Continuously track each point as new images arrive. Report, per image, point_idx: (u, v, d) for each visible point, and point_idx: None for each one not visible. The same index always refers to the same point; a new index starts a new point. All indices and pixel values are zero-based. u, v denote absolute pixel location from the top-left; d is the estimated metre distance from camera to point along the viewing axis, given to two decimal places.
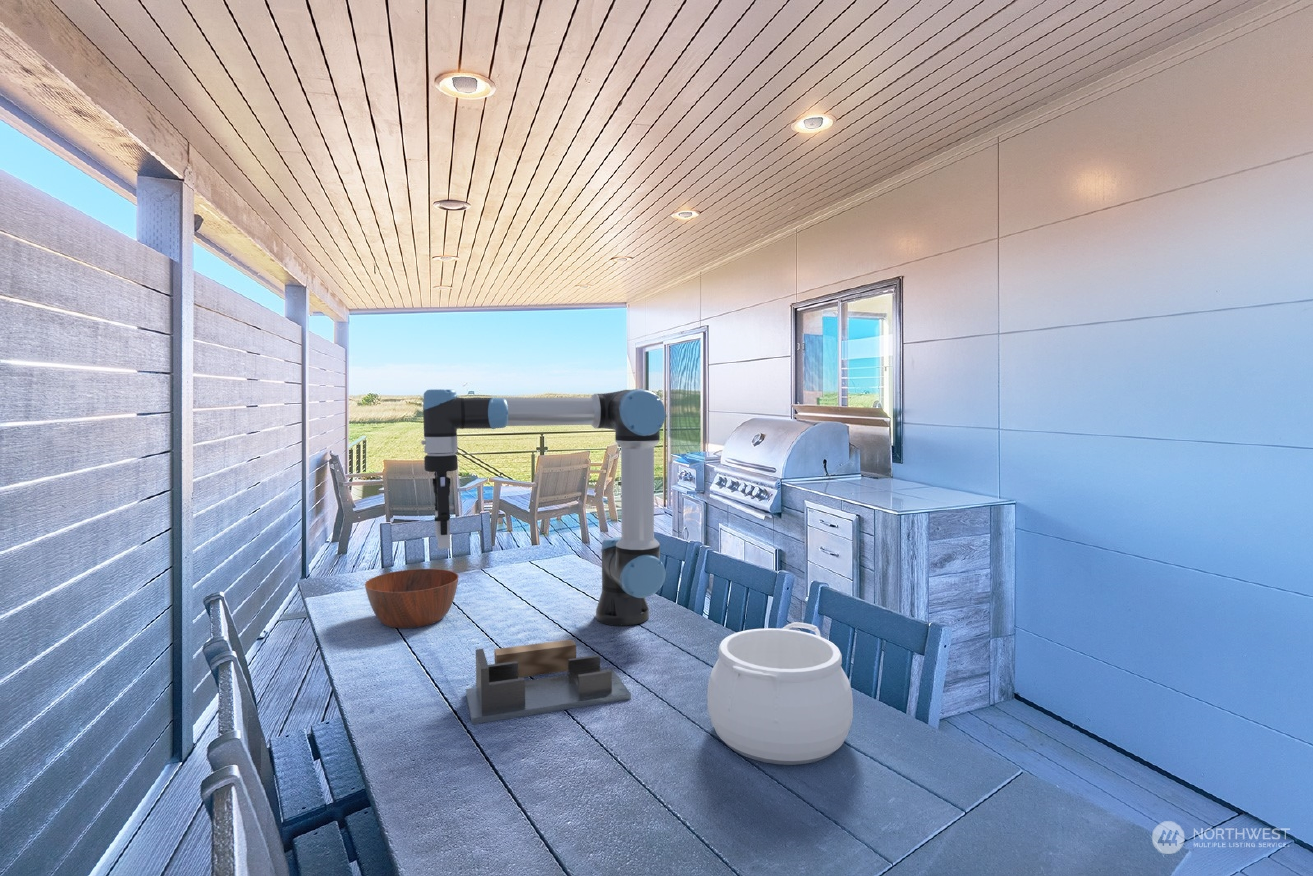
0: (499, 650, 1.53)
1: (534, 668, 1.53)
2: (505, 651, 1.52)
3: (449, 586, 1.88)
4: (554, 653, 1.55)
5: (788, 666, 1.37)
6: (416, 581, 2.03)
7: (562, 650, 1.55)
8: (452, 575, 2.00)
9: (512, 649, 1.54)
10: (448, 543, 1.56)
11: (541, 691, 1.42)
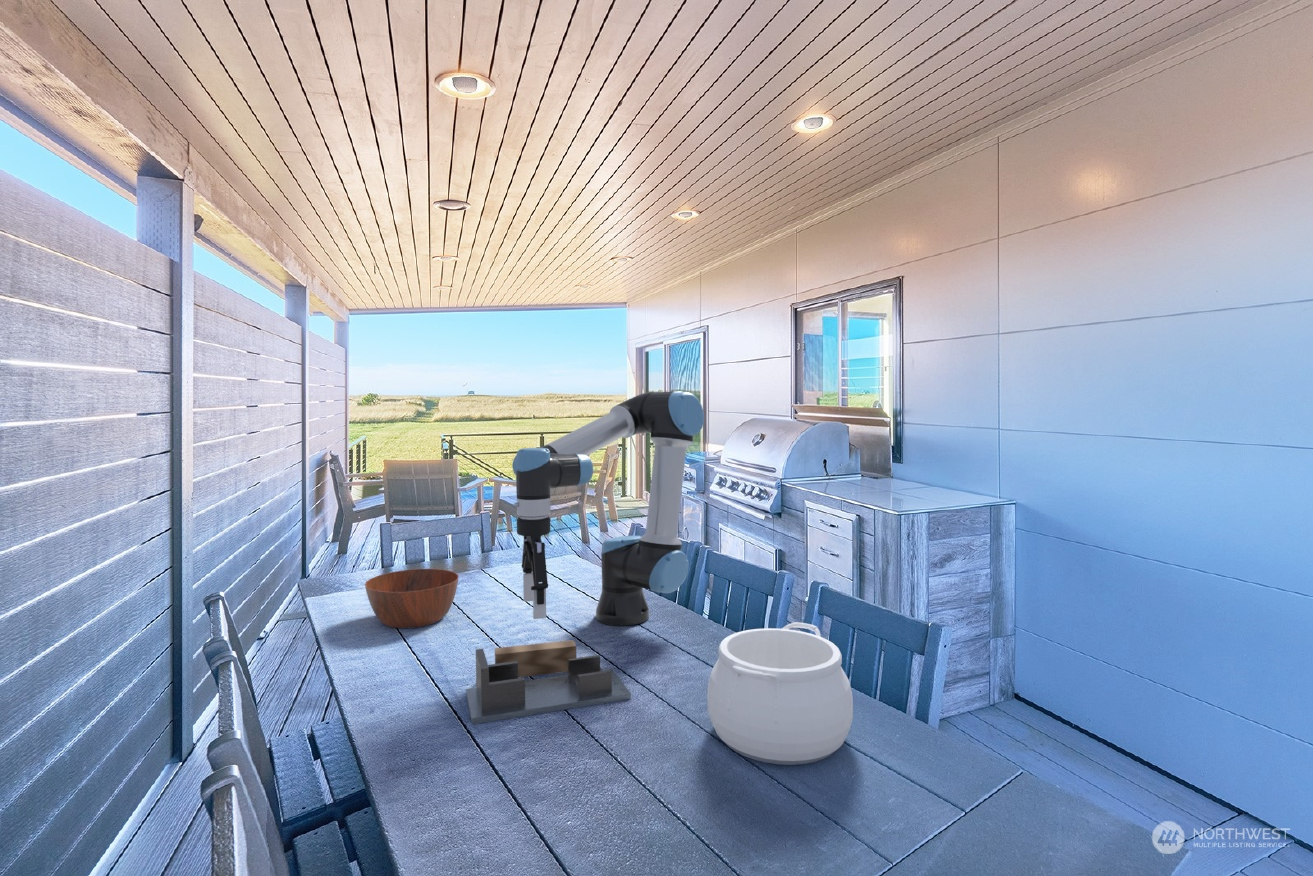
0: (499, 649, 1.54)
1: (533, 668, 1.53)
2: (505, 650, 1.53)
3: (449, 586, 1.88)
4: (553, 654, 1.54)
5: (788, 666, 1.37)
6: (416, 581, 2.03)
7: (562, 650, 1.55)
8: (452, 575, 2.00)
9: (512, 648, 1.54)
10: (544, 612, 1.48)
11: (541, 691, 1.42)
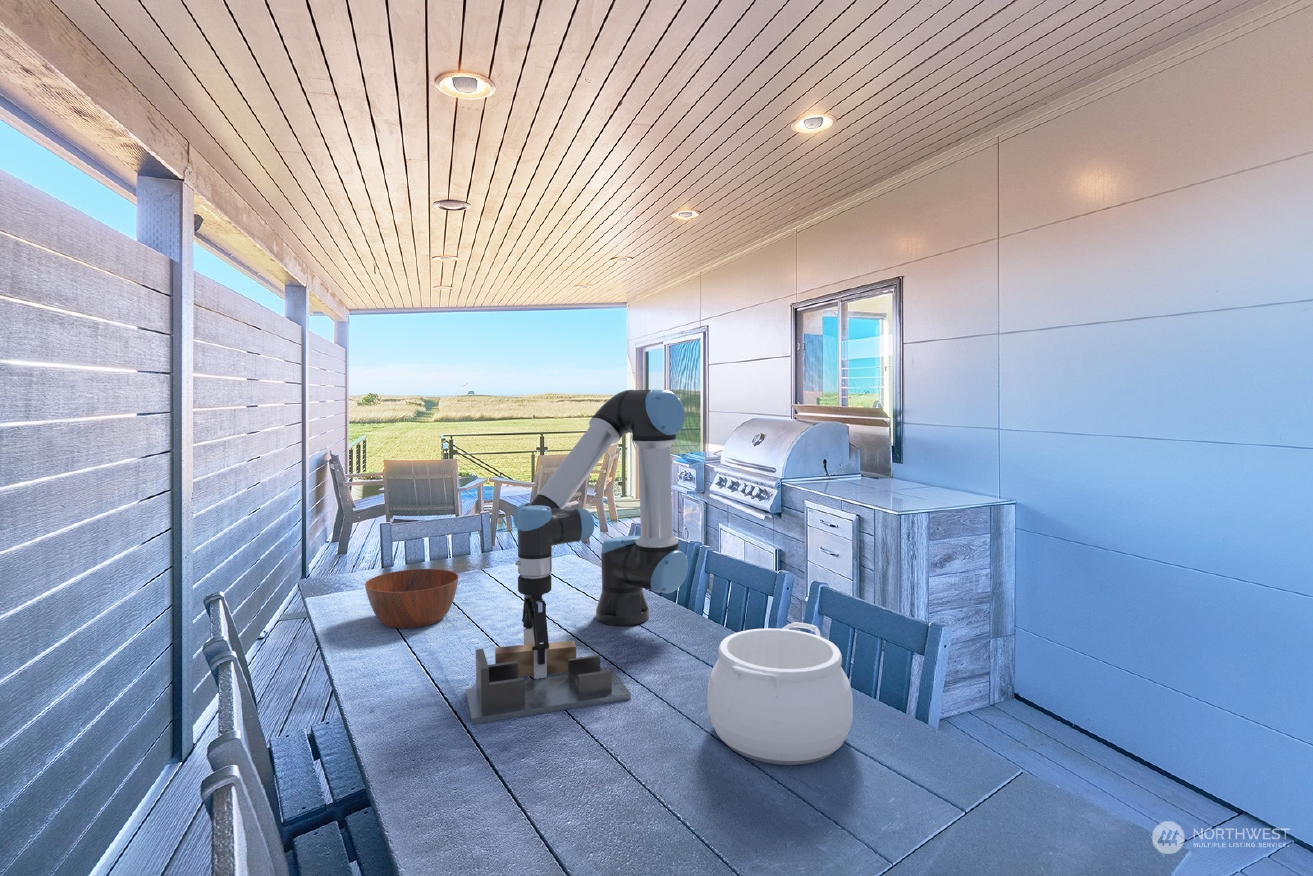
0: (499, 648, 1.54)
1: (533, 668, 1.53)
2: (505, 650, 1.53)
3: (449, 586, 1.88)
4: (553, 654, 1.54)
5: (788, 666, 1.37)
6: (416, 581, 2.03)
7: (561, 651, 1.55)
8: (452, 575, 2.00)
9: (512, 648, 1.54)
10: (545, 672, 1.49)
11: (541, 691, 1.42)
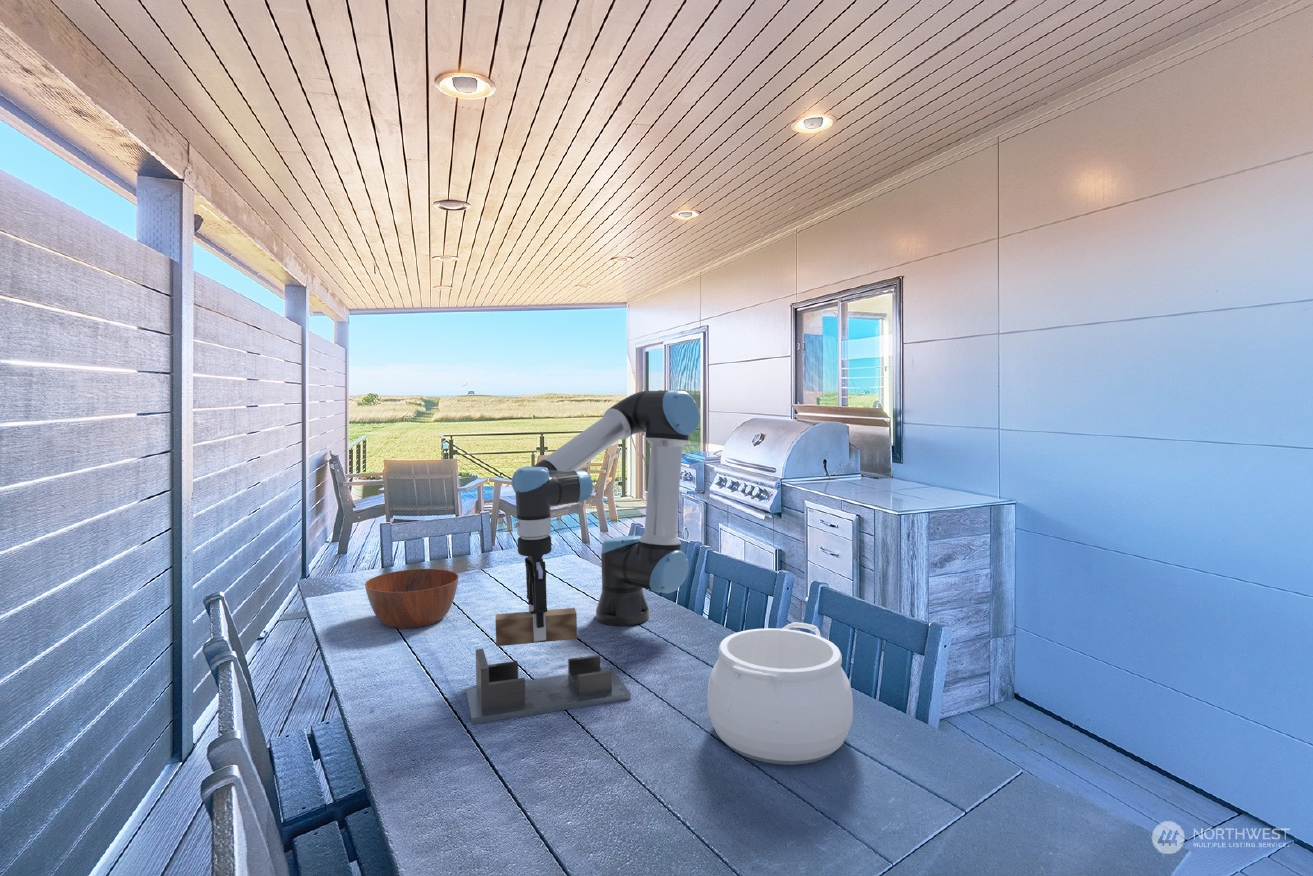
0: (500, 615, 1.54)
1: None
2: (505, 616, 1.53)
3: (449, 586, 1.88)
4: (553, 621, 1.54)
5: (788, 666, 1.37)
6: (416, 581, 2.03)
7: (562, 617, 1.54)
8: (452, 575, 2.00)
9: (512, 615, 1.54)
10: (544, 635, 1.53)
11: (541, 691, 1.42)
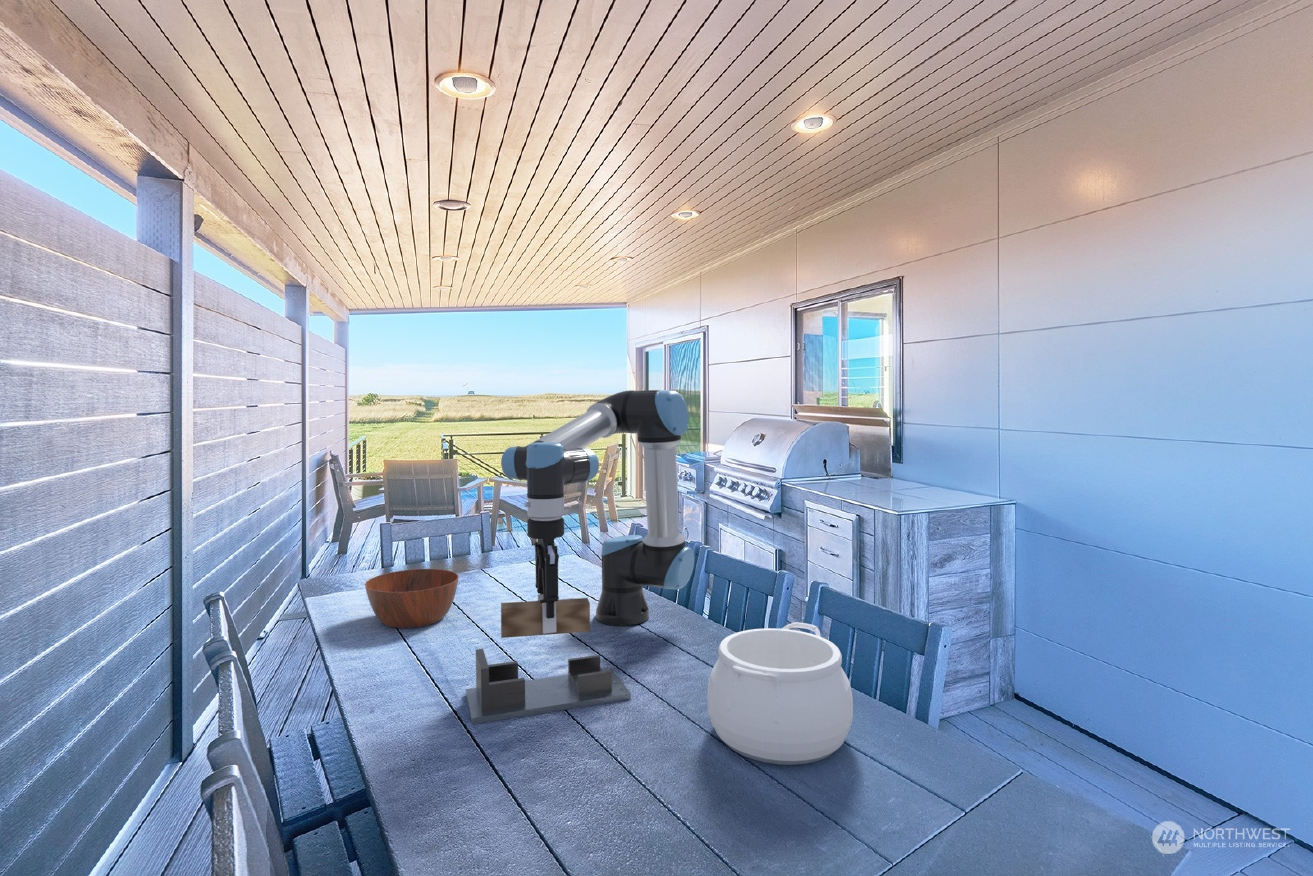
0: (505, 604, 1.40)
1: (542, 626, 1.39)
2: (511, 605, 1.39)
3: (449, 586, 1.88)
4: (564, 611, 1.40)
5: (788, 666, 1.37)
6: (416, 581, 2.03)
7: (574, 607, 1.41)
8: (452, 575, 2.00)
9: (519, 604, 1.40)
10: (554, 627, 1.39)
11: (541, 691, 1.42)
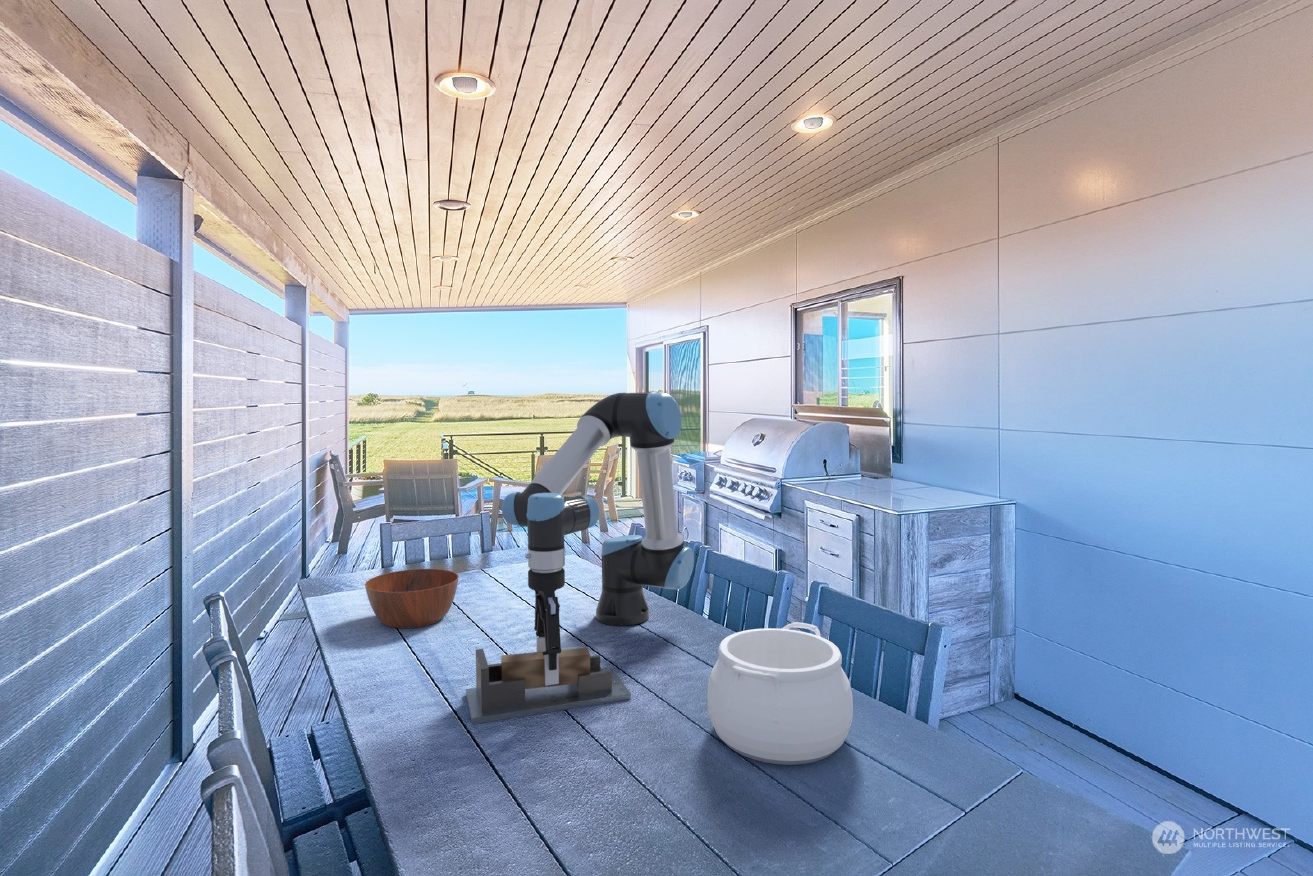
0: (506, 657, 1.41)
1: (543, 678, 1.40)
2: (512, 658, 1.40)
3: (449, 586, 1.88)
4: (565, 663, 1.41)
5: (788, 666, 1.37)
6: (416, 581, 2.03)
7: (574, 659, 1.41)
8: (452, 575, 2.00)
9: (520, 656, 1.41)
10: (557, 678, 1.38)
11: (541, 691, 1.42)
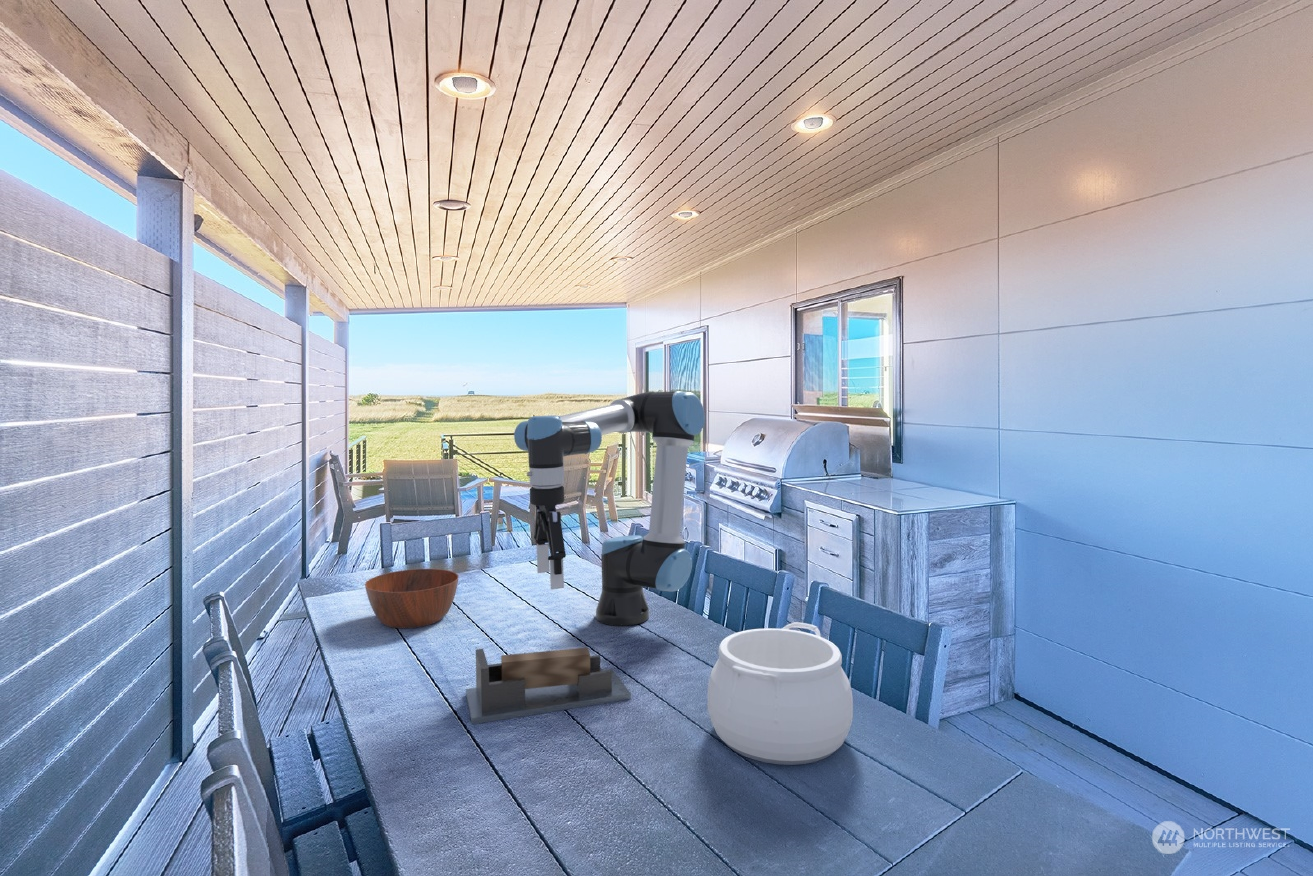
0: (506, 657, 1.41)
1: (543, 678, 1.40)
2: (512, 658, 1.40)
3: (449, 586, 1.88)
4: (565, 663, 1.41)
5: (788, 666, 1.37)
6: (416, 581, 2.03)
7: (574, 659, 1.41)
8: (452, 575, 2.00)
9: (520, 656, 1.41)
10: (562, 582, 1.45)
11: (541, 691, 1.42)
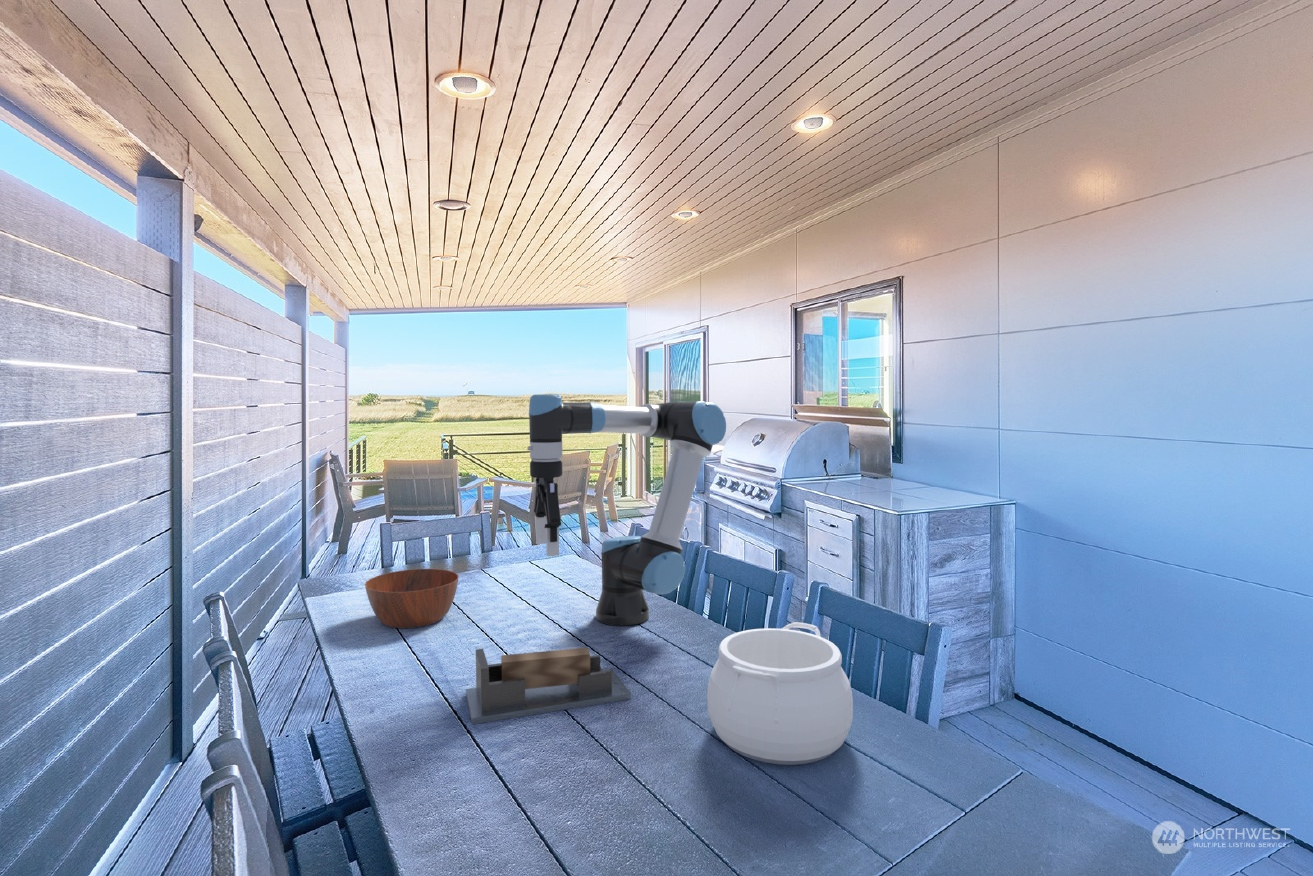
0: (506, 657, 1.41)
1: (543, 678, 1.40)
2: (512, 658, 1.40)
3: (449, 586, 1.88)
4: (565, 663, 1.41)
5: (788, 666, 1.37)
6: (416, 581, 2.03)
7: (574, 659, 1.41)
8: (452, 575, 2.00)
9: (520, 656, 1.41)
10: (557, 550, 1.54)
11: (541, 691, 1.42)
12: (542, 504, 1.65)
